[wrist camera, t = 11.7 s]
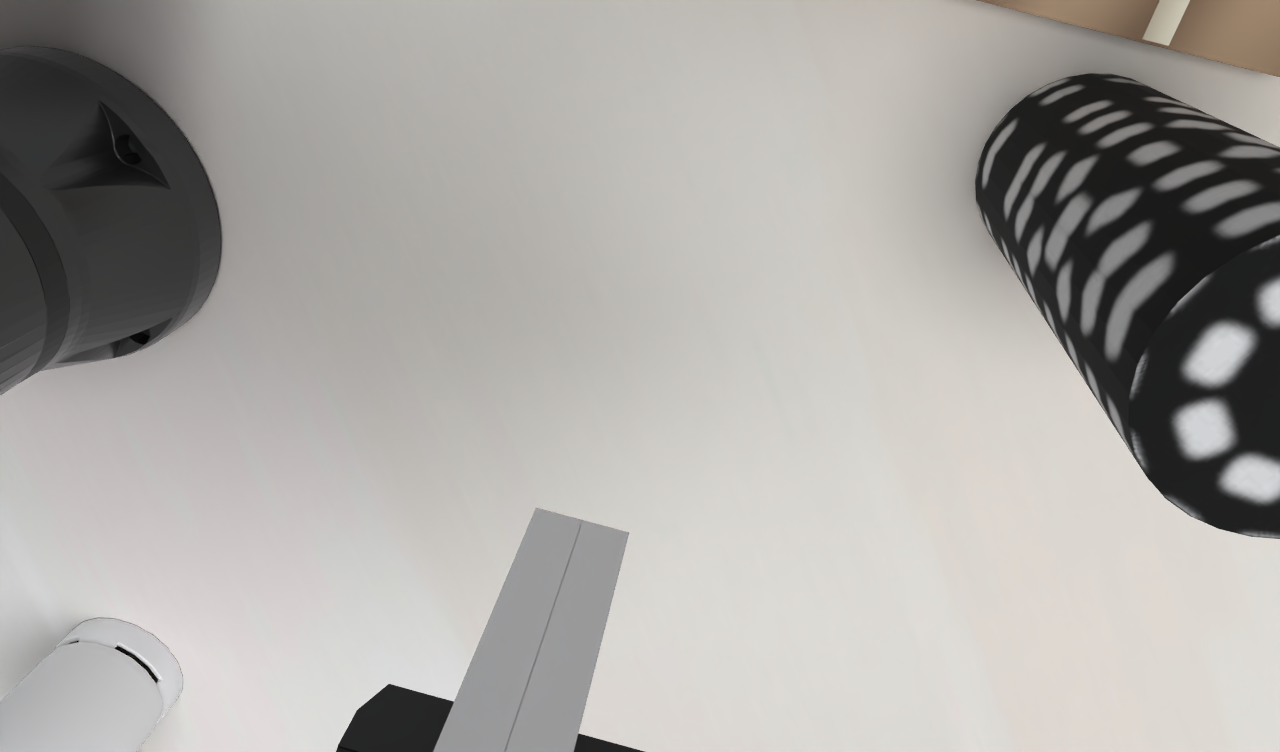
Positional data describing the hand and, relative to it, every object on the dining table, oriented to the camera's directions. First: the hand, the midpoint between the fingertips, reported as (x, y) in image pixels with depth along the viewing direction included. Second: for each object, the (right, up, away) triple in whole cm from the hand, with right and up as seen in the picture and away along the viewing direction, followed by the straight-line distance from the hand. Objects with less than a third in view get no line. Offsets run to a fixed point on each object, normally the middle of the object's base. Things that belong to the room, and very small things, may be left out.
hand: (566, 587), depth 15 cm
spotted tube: (+20, +12, +24) cm, 34 cm away
